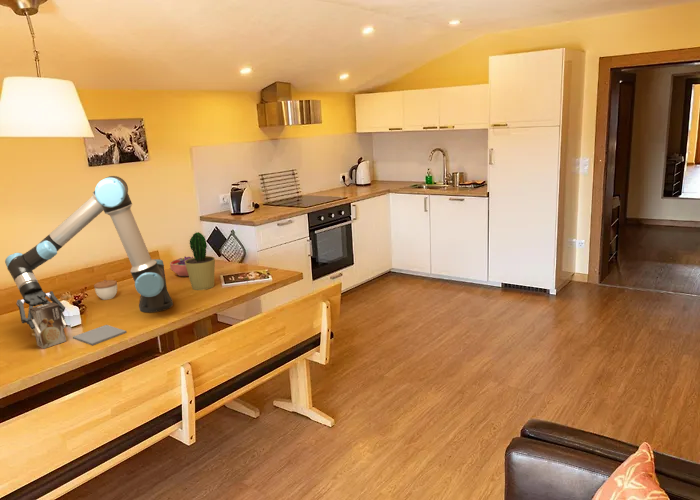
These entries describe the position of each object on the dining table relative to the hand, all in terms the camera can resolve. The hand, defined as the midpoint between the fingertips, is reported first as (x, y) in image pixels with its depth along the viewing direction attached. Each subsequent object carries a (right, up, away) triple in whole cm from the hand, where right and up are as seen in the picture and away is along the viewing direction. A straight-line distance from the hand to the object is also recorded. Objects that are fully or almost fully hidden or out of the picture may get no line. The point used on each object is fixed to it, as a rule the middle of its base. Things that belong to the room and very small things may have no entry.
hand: (52, 330), depth 218 cm
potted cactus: (+41, +12, +71) cm, 83 cm away
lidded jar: (-5, +7, +61) cm, 61 cm away
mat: (+15, -4, +9) cm, 18 cm away
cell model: (+26, +17, +95) cm, 100 cm away
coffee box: (-2, -6, +4) cm, 7 cm away
